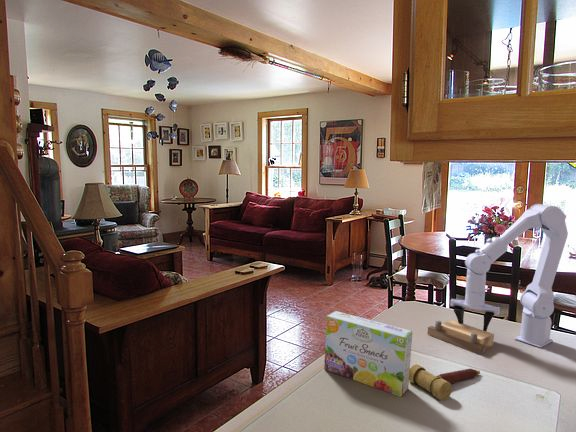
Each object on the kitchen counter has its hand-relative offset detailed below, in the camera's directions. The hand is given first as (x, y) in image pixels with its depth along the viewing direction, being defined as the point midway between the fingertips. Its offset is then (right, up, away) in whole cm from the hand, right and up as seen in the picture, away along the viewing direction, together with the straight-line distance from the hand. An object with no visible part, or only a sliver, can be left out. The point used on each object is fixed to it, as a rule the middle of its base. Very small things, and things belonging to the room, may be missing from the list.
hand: (472, 331), depth 137 cm
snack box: (-41, -4, -31) cm, 52 cm away
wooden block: (-4, -2, -4) cm, 6 cm away
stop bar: (-8, -2, -6) cm, 11 cm away
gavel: (-19, -5, -31) cm, 37 cm away
